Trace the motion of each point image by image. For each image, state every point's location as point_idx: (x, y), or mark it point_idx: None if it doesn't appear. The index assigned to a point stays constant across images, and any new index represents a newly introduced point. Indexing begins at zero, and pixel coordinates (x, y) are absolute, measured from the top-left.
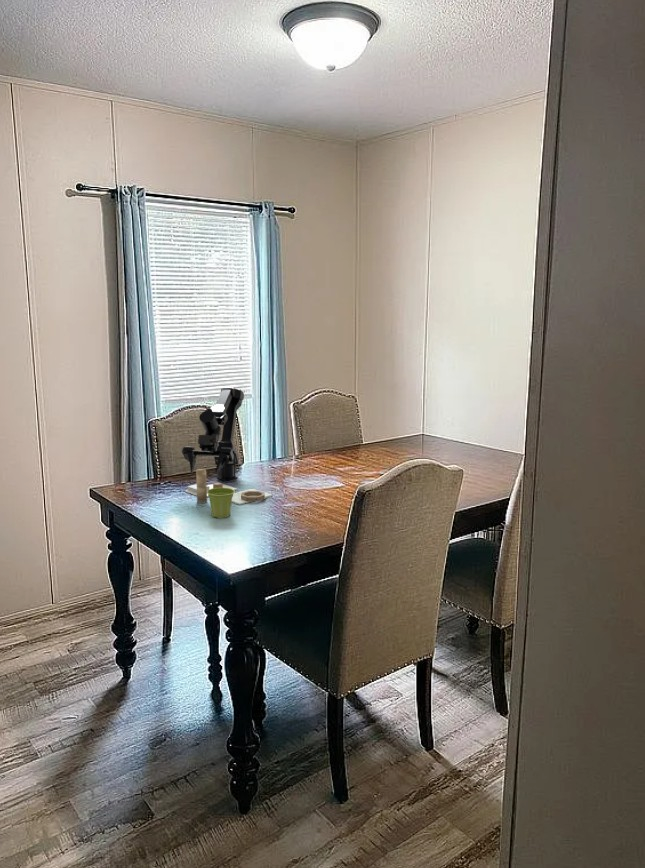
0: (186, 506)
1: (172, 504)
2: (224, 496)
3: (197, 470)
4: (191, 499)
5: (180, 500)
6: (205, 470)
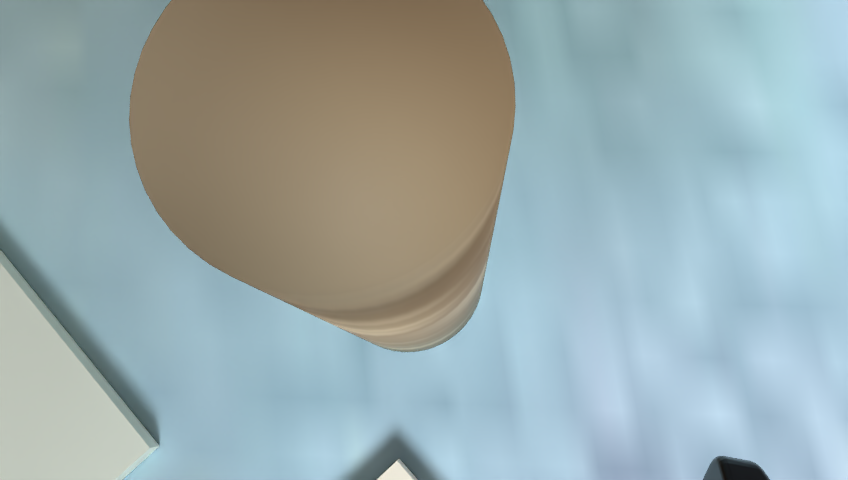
0: (603, 52)
1: (832, 150)
2: None
3: (454, 21)
4: (591, 405)
5: (758, 355)
6: (154, 31)
